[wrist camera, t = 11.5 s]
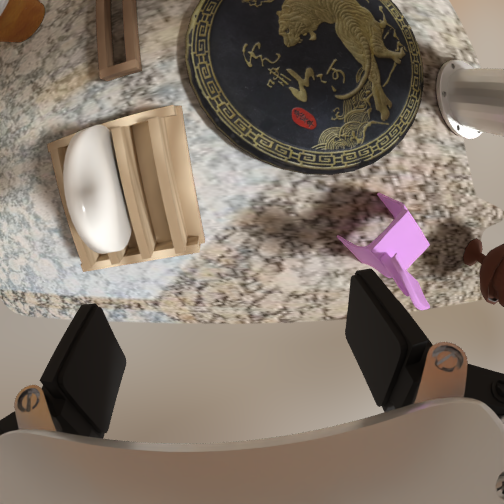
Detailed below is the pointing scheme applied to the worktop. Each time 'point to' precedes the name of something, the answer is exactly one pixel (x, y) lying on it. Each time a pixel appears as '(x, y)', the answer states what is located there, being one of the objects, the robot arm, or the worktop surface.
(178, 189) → the dish rack
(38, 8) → the disposable coffee cup
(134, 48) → the plate stand
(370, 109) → the decorative plate
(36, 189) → the worktop surface
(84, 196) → the side plate
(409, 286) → the toy chair
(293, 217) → the worktop surface
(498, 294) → the ice cream bowl
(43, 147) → the worktop surface
